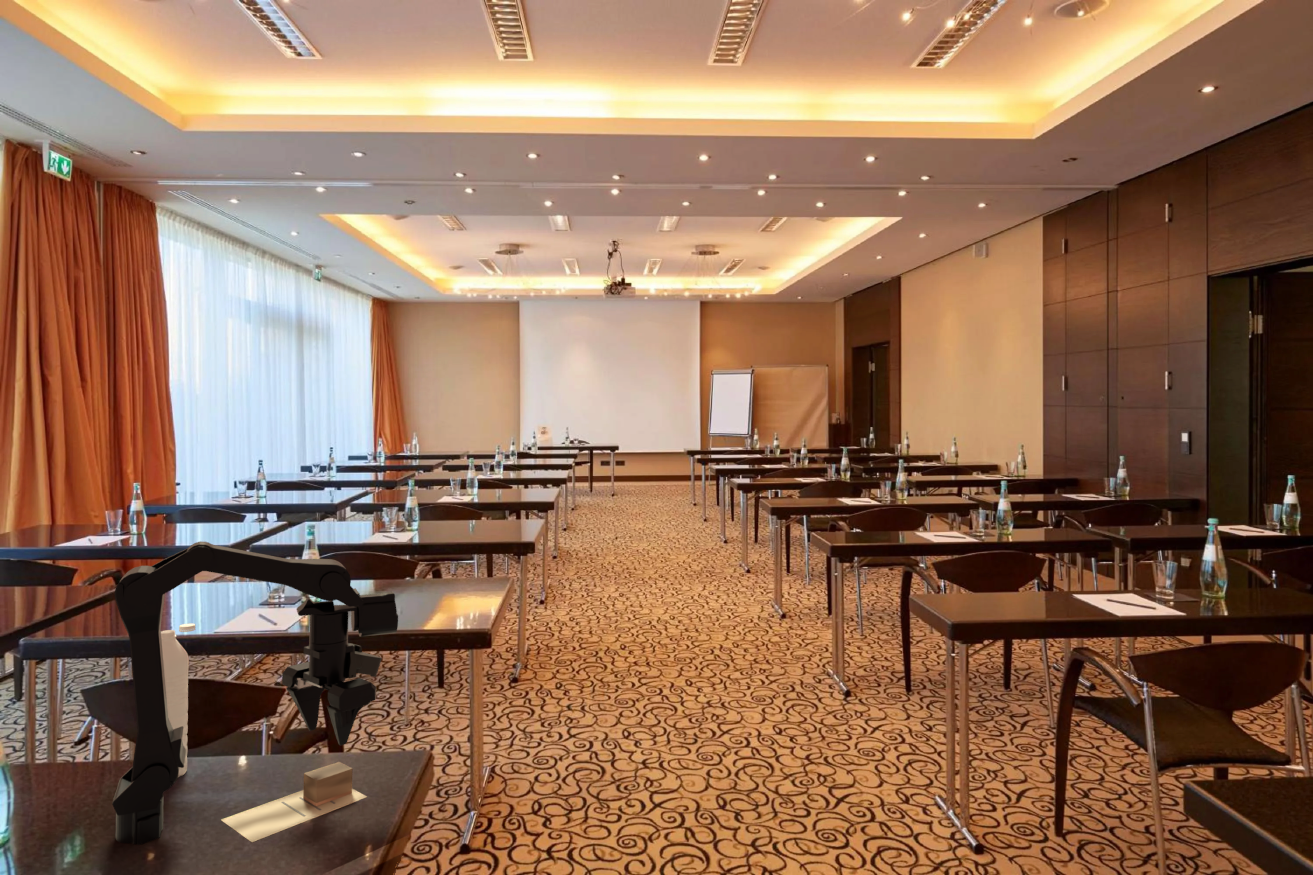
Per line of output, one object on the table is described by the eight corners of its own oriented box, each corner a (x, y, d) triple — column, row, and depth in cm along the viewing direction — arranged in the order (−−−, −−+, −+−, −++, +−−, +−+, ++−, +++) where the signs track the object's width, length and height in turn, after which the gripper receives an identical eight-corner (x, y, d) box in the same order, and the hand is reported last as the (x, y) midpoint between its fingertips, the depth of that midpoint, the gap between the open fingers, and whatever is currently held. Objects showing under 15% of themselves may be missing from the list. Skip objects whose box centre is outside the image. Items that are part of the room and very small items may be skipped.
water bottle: (165, 785, 130) (167, 636, 130) (133, 780, 131) (135, 633, 131) (206, 763, 138) (208, 624, 138) (175, 759, 140) (177, 622, 140)
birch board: (220, 829, 116) (220, 819, 116) (333, 787, 130) (334, 778, 130) (251, 852, 110) (251, 841, 110) (367, 805, 124) (367, 796, 124)
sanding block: (303, 798, 123) (303, 773, 123) (338, 785, 127) (339, 761, 127) (316, 806, 120) (316, 780, 120) (351, 793, 125) (352, 768, 125)
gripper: (406, 640, 124) (405, 736, 124) (344, 621, 136) (343, 709, 136) (342, 654, 116) (340, 758, 116) (281, 633, 127) (279, 728, 127)
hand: (327, 736), depth 124 cm, fingers open, 9 cm apart
